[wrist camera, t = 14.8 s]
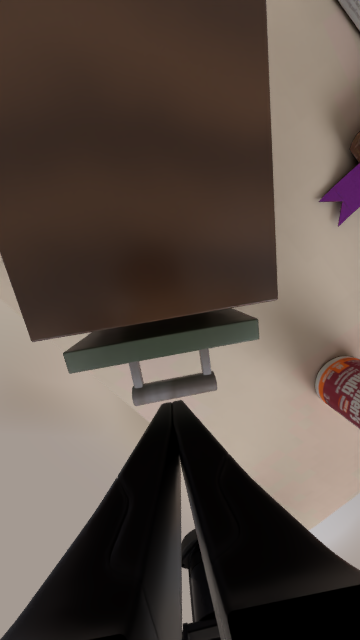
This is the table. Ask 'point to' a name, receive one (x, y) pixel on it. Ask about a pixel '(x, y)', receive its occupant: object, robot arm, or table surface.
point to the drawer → (163, 350)
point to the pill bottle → (341, 387)
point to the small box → (352, 10)
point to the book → (347, 187)
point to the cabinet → (134, 160)
